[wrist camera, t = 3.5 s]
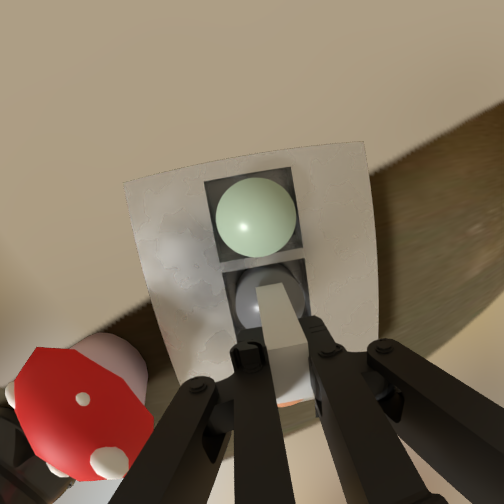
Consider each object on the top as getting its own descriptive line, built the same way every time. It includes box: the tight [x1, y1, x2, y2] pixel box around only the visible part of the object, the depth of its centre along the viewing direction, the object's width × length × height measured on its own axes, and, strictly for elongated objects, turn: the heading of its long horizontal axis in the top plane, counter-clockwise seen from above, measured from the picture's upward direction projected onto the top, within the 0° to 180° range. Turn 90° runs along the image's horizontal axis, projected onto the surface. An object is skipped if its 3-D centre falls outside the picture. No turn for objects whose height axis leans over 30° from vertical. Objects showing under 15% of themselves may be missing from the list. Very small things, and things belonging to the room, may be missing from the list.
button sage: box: [216, 178, 296, 257], centre depth 16 cm, size 4×4×2 cm
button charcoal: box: [236, 263, 305, 329], centre depth 18 cm, size 4×4×2 cm
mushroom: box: [5, 332, 154, 481], centre depth 16 cm, size 11×11×12 cm
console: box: [123, 141, 379, 402], centre depth 19 cm, size 14×17×4 cm
